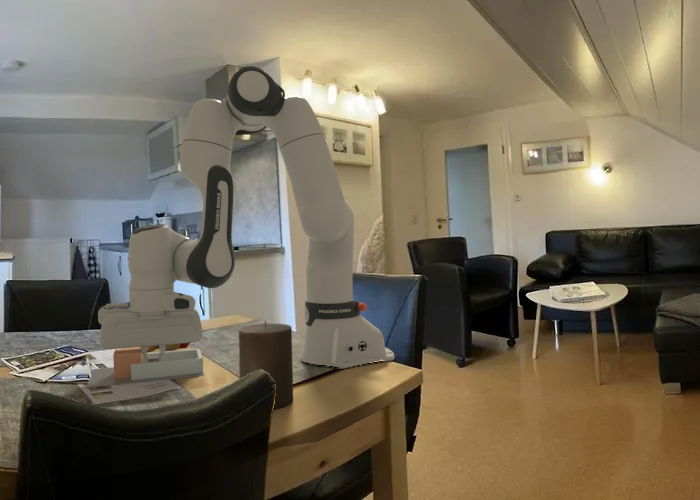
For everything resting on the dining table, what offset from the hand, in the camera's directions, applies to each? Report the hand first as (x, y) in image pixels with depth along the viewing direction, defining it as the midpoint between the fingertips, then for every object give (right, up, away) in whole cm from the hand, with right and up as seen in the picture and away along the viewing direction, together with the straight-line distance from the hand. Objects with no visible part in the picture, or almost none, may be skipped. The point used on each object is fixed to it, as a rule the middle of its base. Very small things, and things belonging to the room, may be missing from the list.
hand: (153, 365), depth 110 cm
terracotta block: (-5, -1, -2) cm, 5 cm away
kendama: (-7, -2, +21) cm, 22 cm away
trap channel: (-1, -3, 0) cm, 3 cm away
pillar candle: (+26, -3, -15) cm, 31 cm away
